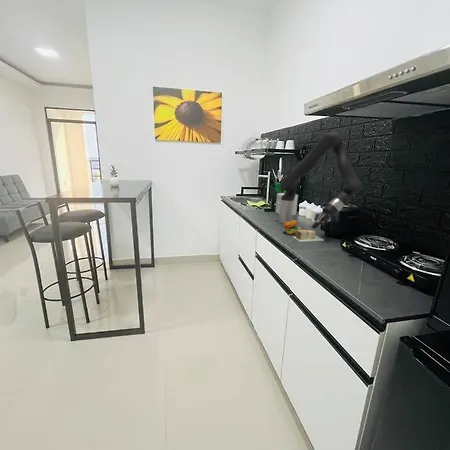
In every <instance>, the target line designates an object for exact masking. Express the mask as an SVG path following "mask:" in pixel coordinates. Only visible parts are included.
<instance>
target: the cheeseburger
mask: <svg viewBox="0 0 450 450" xmlns="http://www.w3.org/2000/svg"><path fill="white" fill-rule="evenodd" d="M298 223H299V222H298V221H297V220H295V219H292V221H287V222H285V223H283V227H282V228H283V229H284V231H285V233H286V234H287V235H289V236H296V230H302V229H301V227H300V226H299V225H298Z"/></svg>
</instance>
